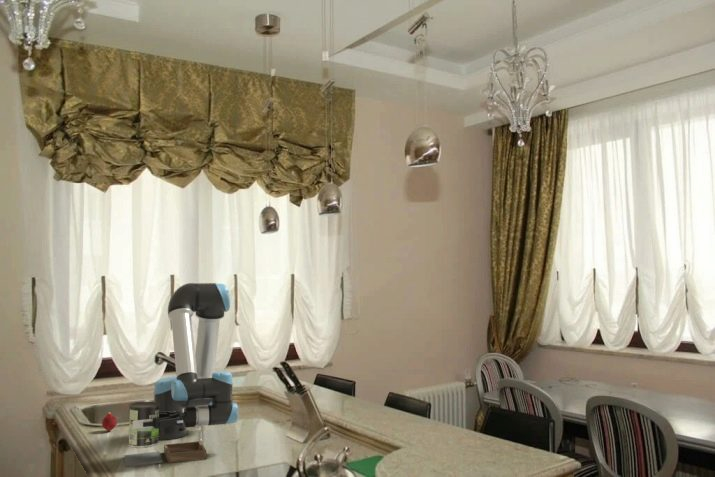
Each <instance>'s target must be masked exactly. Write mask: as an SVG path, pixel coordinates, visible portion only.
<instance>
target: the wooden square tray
mask: <svg viewBox="0 0 715 477" xmlns="http://www.w3.org/2000/svg"><path fill="white" fill-rule="evenodd" d="M206 449H207V448H205V446H204V445H203V443H202V442H201V441H200V440H199V441H190V442H189V441H188V442H179V443H168V444H163V454H164V456H165V458H166V461H167V463H168V464H170V463H179V462H181V463H182V462H189V461H197V460H206V459H207V450H206Z"/></svg>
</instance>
